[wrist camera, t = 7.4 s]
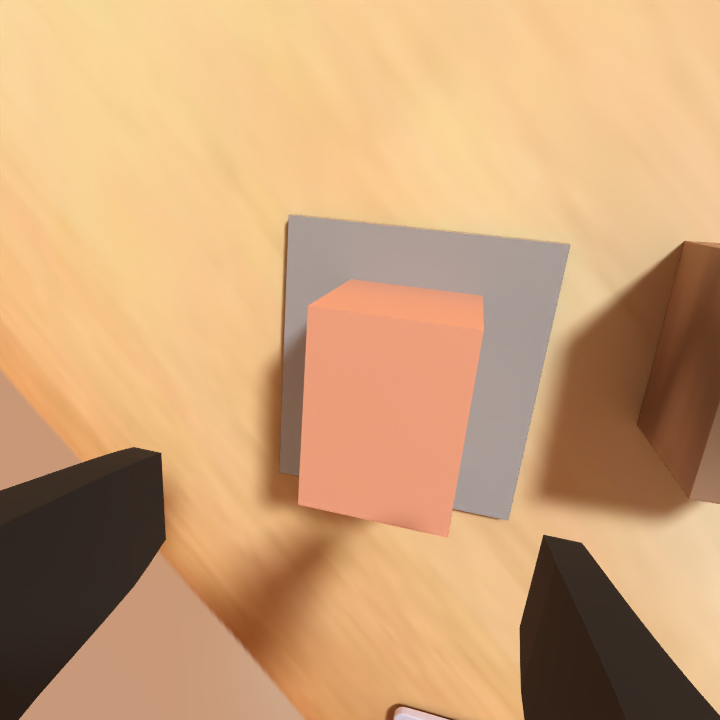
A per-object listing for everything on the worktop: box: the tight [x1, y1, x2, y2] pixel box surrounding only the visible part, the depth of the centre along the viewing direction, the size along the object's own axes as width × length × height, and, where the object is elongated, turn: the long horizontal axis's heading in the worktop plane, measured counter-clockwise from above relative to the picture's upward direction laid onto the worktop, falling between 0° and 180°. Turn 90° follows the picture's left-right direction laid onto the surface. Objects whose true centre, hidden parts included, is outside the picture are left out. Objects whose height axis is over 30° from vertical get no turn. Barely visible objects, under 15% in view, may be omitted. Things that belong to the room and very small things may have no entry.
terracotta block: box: [298, 279, 484, 537], centre depth 15 cm, size 6×4×4 cm
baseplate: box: [279, 215, 570, 520], centre depth 17 cm, size 10×9×1 cm
